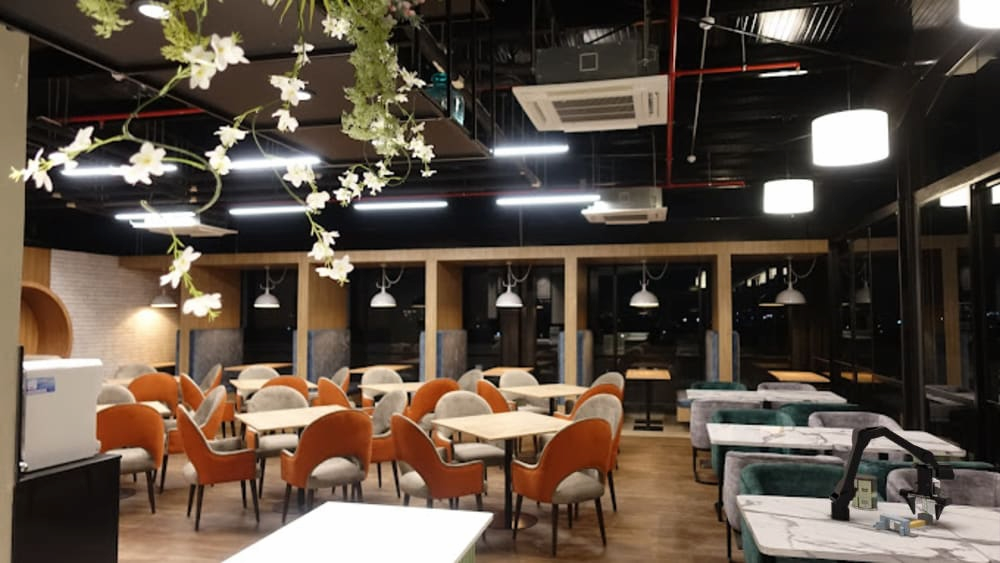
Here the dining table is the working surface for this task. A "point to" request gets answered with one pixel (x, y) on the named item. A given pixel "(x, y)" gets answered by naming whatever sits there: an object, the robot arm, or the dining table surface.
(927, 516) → the yellow handled hammer
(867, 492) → the coffee can
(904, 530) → the blue-grey bracket
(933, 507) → the syrup box
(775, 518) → the dining table surface
